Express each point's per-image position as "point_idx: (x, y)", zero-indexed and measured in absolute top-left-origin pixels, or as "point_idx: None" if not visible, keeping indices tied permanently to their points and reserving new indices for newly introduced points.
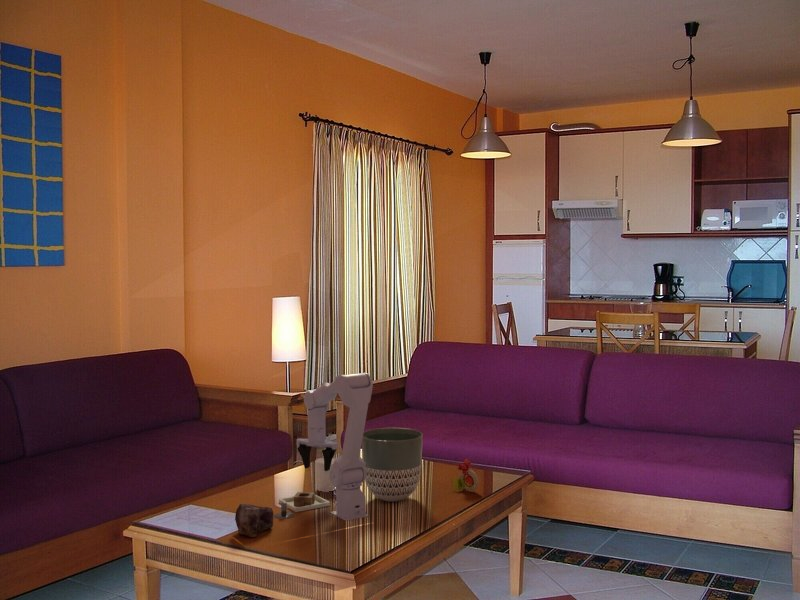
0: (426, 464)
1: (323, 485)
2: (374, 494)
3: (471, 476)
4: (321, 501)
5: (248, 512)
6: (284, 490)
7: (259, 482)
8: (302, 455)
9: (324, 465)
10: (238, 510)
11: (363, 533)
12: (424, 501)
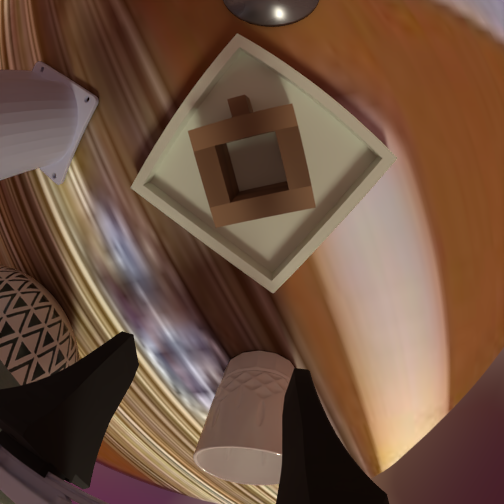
0: (156, 478)
1: (257, 368)
2: (36, 283)
3: None
4: (190, 214)
5: None
6: (413, 332)
7: (484, 366)
8: (325, 452)
9: (108, 355)
10: None
11: (3, 29)
12: None
